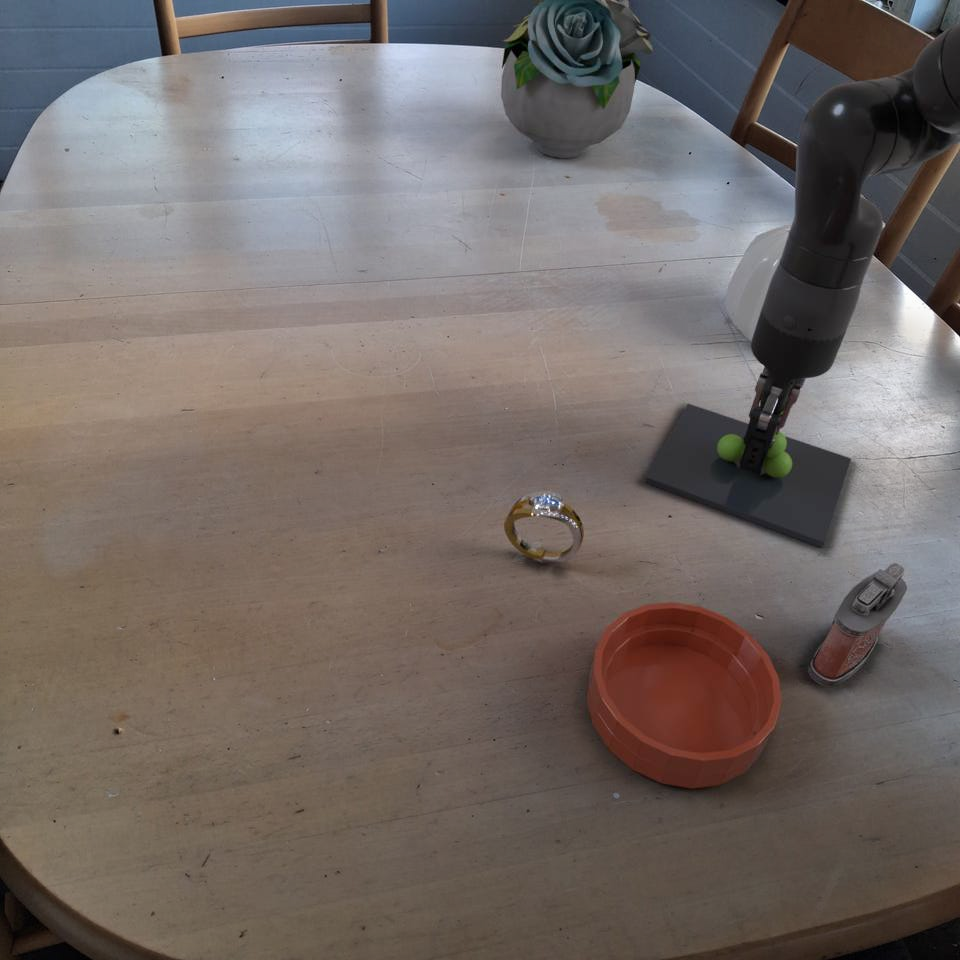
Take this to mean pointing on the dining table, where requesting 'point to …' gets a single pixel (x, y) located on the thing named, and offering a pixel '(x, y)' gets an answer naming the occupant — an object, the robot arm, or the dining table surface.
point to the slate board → (751, 478)
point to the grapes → (774, 462)
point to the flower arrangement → (572, 73)
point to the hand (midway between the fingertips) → (754, 457)
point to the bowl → (682, 694)
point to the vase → (754, 279)
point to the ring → (545, 508)
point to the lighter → (858, 626)
